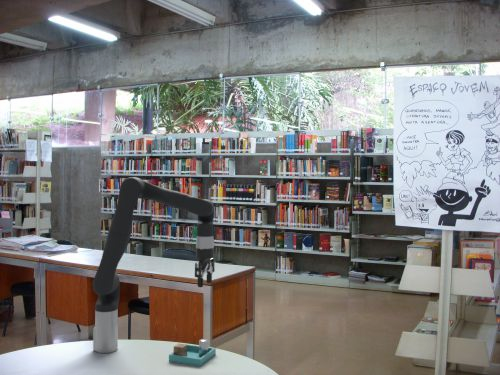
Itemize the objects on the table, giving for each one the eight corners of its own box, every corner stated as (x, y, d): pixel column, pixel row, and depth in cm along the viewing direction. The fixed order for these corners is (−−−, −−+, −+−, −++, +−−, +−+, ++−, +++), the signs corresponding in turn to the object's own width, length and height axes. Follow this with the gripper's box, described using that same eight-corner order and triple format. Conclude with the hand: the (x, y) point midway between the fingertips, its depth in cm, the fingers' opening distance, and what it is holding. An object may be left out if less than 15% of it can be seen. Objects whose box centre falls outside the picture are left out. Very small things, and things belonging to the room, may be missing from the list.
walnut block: (173, 358, 202) (173, 346, 202) (178, 355, 206) (178, 343, 206) (182, 360, 201) (182, 347, 201) (187, 356, 204) (187, 344, 204)
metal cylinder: (197, 356, 205) (197, 341, 205) (200, 353, 209) (201, 338, 209) (206, 357, 204) (206, 342, 204) (209, 354, 208) (210, 339, 208)
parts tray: (168, 361, 201) (168, 354, 201) (185, 350, 214) (185, 344, 214) (200, 366, 196) (200, 359, 196) (215, 354, 209) (215, 348, 209)
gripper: (204, 244, 220) (204, 281, 220) (189, 248, 207) (189, 287, 207) (220, 245, 218) (219, 282, 218) (205, 249, 204) (205, 289, 204)
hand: (204, 285), depth 212 cm, fingers open, 8 cm apart
